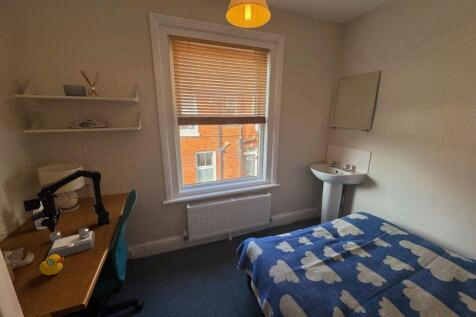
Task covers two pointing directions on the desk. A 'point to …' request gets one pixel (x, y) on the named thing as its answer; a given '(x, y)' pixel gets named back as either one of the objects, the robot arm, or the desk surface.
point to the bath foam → (37, 223)
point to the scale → (71, 245)
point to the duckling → (52, 265)
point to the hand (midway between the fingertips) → (54, 228)
